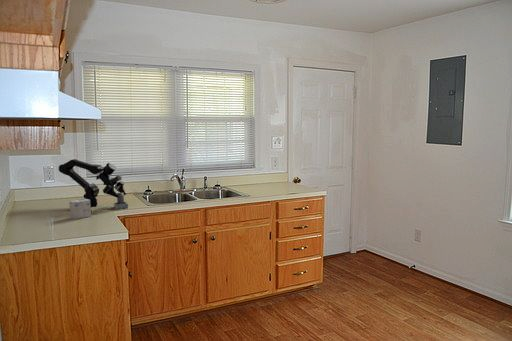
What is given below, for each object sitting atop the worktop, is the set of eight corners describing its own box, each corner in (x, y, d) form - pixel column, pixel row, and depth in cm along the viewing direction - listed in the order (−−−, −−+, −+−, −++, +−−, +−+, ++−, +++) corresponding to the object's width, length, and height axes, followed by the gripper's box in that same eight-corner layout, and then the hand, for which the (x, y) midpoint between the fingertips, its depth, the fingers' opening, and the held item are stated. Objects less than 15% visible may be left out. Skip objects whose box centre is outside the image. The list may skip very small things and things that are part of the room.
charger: (120, 208, 275) (119, 193, 274) (116, 207, 278) (115, 192, 276) (125, 207, 278) (124, 192, 277) (121, 206, 281) (121, 191, 280)
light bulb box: (86, 214, 259) (85, 198, 257) (91, 216, 254) (90, 199, 253) (69, 217, 251) (68, 200, 249) (75, 219, 246) (73, 202, 245)
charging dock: (115, 209, 272) (114, 204, 272) (113, 206, 280) (113, 202, 279) (128, 208, 276) (127, 203, 275) (126, 205, 283) (126, 201, 283)
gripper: (105, 173, 266) (121, 190, 266) (121, 169, 284) (136, 185, 284) (95, 185, 269) (111, 201, 268) (111, 180, 287) (126, 196, 286)
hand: (122, 196), depth 277 cm, fingers open, 9 cm apart
